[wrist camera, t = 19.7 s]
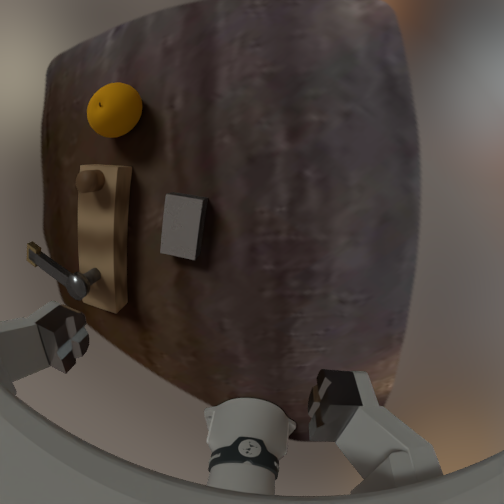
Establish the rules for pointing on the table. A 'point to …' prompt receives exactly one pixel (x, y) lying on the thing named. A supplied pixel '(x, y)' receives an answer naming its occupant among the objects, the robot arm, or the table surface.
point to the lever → (59, 272)
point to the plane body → (104, 233)
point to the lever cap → (183, 225)
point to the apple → (114, 110)
